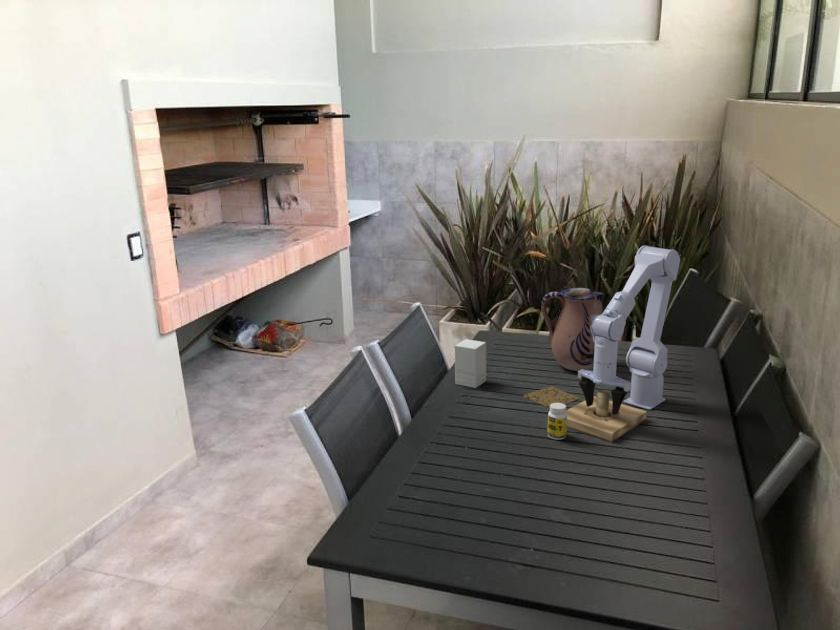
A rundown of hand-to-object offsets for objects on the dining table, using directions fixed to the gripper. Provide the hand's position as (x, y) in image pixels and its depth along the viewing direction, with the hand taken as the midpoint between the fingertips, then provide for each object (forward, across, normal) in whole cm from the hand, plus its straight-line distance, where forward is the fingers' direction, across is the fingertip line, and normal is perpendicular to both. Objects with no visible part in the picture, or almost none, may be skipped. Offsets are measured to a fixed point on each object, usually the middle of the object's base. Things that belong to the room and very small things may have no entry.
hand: (602, 409), depth 181 cm
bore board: (+4, 0, 0) cm, 4 cm away
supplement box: (+4, -44, -2) cm, 44 cm away
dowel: (+3, 0, 0) cm, 3 cm away
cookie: (+4, -19, +5) cm, 20 cm away
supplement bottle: (+4, -4, -15) cm, 16 cm away
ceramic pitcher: (+4, -28, +30) cm, 41 cm away
